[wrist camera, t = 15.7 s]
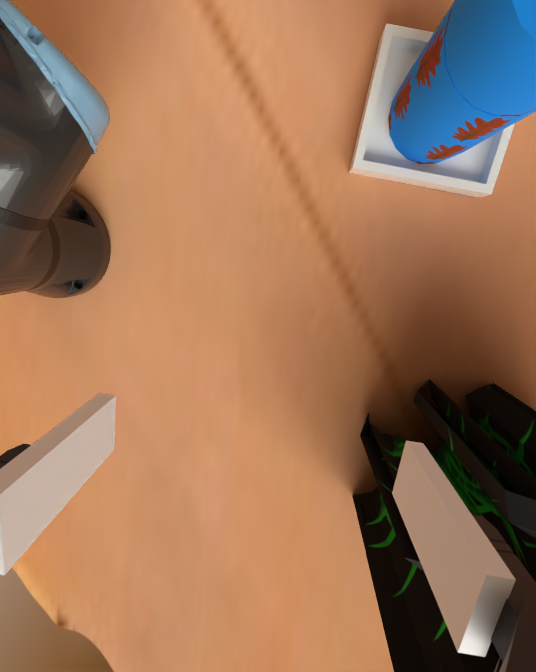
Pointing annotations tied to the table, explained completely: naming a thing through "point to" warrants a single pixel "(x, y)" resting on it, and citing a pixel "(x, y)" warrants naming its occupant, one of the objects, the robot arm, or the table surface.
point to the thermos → (467, 80)
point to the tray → (377, 146)
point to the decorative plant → (479, 497)
